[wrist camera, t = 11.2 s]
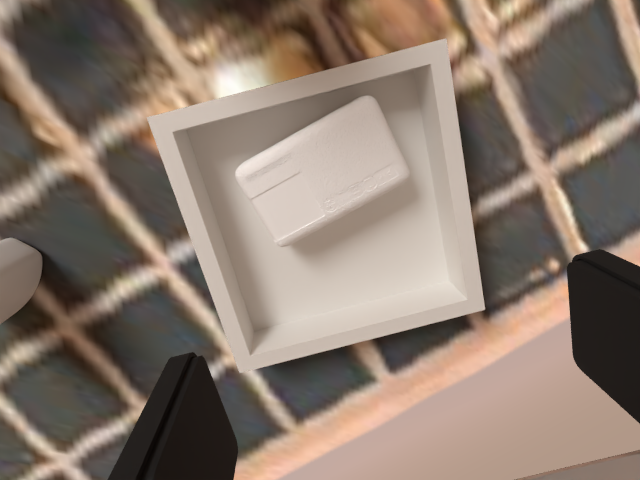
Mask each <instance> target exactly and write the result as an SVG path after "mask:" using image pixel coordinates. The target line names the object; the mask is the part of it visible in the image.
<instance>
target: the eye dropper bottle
mask: <svg viewBox="0 0 640 480" xmlns="http://www.w3.org/2000/svg"><path fill="white" fill-rule="evenodd" d="M41 273H42V256H41V253H40V252H39V251H37V250H36V249H34V248H33V247H31V246H29V245H27V244H25V243H23V242H21V241H19V240H17V239H14V238H7V239H4V240H2V241H0V324H1V323H2V322H4V321H5V320H7V319H8V318H9V317H11V316H12V315H13V314H15V313H16V312H17V311H19V310H20V309H21V308H22V307H23V306H24V305H25V304H26V303H27V302H28V301H29V299H30V298H31V297H32V295H33V294H34V292H35V291H36V289H37V286H38V284H39V281H40V278H41Z"/></svg>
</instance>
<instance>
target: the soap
mask: <svg viewBox="0 0 640 480" xmlns="http://www.w3.org/2000/svg"><path fill="white" fill-rule="evenodd" d="M409 175H410V171H409V168H408V166H407V164H406V161H405V159H404V157H403V155H402V153H401V151H400V149H399V147H398V144H397V142H396V141H395V138H394V136H393V134H392V132H391V130H390V127H389V125H388V123H387V121H386V119H385V117H384V115H383V113H382V111H381V108H380V106H379V104H378V102H377V101H376V99H375V98H373V97H372V96H368V95H366V96H362V97H358V98H356V99H354V100H352V101H351V102H349V103H347V104H345V105H344V106H342V107H340V108H338V109H337V110H335V111H333V112H331V113H329V114H327V115H326V116H324V117H322V118H321V119H319V120H317V121H315V122H314V123H312V124H310V125H308V126H306V127H305V128H303V129H301V130H299V131H298V132H296V133H294V134H292V135H290V136H289V137H287V138H285V139H283V140H282V141H280V142H278V143H276V144H275V145H273V146H271V147H269V148H268V149H266V150H264V151H262V152H260V153H259V154H257V155H255V156H253V157H252V158H250V159H248V160H246V161H245V162H243V163H242V164H241V165H240V166H239V167H238V168H237V170H236V173H235V177H236V180H237V182H238V184H239V185H240V187H241V189H242V190H243V192H244V194H245V195H246V197H247V199H249V200H250V202H251V204H252V205H253V207H254V209H255V210H256V212H257V213H258V215H259V217H260V218H261V220H262V222H263V223H264V225H265V227H266V228H267V230H268V232H269V233H270V235H271V236H272V238H273V241H274V242H275V243H276V245H278V246H280V247H286V246H289V245H291V244H293V243H295V242H296V241H298V240H300V239H302V238H304V237H306V236H308V235H309V234H311V233H313V232H315V231H317V230H319V229H320V228H323V227H324V226H326V225H328V224H330V223H332V222H334V221H336V220H338V219H339V218H341V217H343V216H345V215H347V214H349V213H350V212H352V211H354V210H356V209H358V208H359V207H361V206H363V205H365V204H367V203H368V202H370V201H372V200H374V199H376V198H378V197H380V196H381V195H383V194H385V193H387V192H389V191H391V190H393V189H394V188H396V187H398V186H400V185H402V184H403V183H405V182H406V181H407V180H408V179H409Z"/></svg>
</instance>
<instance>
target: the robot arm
mask: <svg viewBox="0 0 640 480" xmlns="http://www.w3.org/2000/svg"><path fill="white" fill-rule="evenodd" d="M567 276H568V291H569V306H570V320H571V335H572V349H573V357H574V360H575V362H576V364H577V366H578V367H579V368H580V369H581V370H582V371H583V372H584V373H585V374H586V375H587V376H588V377H589V378H590V379H592V380H593V381H594V382H595V383H596V384H597V385H598V386H599V387H600V388H601V389H602V390H604V391H605V392H606V393H607V394H608V395H609V396H610V397H611V398H612V399H613V400H615V401H616V402H617V403H618V404H619V405H620V406H621V407H622V408H623V409H624V410H626V411H627V412H628V413H629V414H630V415H631V416H632V417H633V418H634V419H635V420H637V421H638V422H639V423H640V267H639V266H637V265H635V264H633V263H631V262H628V261H626V260H624V259H622V258H620V257H617V256H615V255H613V254H611V253H609V252H606V251H604V250H601V249H599V250H595V251H591V252H587V253H583V254H579V255H575V256H574V257H573V260H572V262H571V263H569V264H568V266H567ZM237 454H238V446H237V440H236V437H235V435H234V432H233V429H232V427H231V424H230V422H229V419H228V417H227V414H226V412H225V409H224V407H223V404H222V401H221V399H220V396H219V394H218V391H217V389H216V386H215V384H214V381H213V379H212V376H211V373H210V371H209V368H208V366H207V363H206V361H205V359H204V357H203V356H199V357H197V355H196V354H195V353H193V352H191V353H187V354H183V355H179V356H175V357H171V358H170V359H169V360H168V362H167V364H166V366H165V368H164V370H163V372H162V374H161V376H160V378H159V380H158V382H157V384H156V386H155V388H154V389H153V391H152V393H151V395H150V397H149V399H148V401H147V403H146V405H145V407H144V409H143V411H142V413H141V415H140V417H139V419H138V421H137V423H136V425H135V427H134V429H133V431H132V433H131V435H130V437H129V439H128V441H127V443H126V445H125V447H124V449H123V451H122V453H121V455H120V457H119V459H118V461H117V463H116V464H115V466H114V468H113V470H112V472H111V474H110V476H109V478H108V480H233V478H234V473H235V467H236V461H237ZM516 480H640V450H638V451H633V452H629V453H625V454H621V455H617V456H612V457H608V458H604V459H600V460H595V461H591V462H587V463H582V464H578V465H574V466H570V467H565V468H561V469H557V470H553V471H549V472H545V473H541V474H536V475H532V476H528V477H524V478H520V479H516Z"/></svg>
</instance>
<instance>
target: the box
mask: <svg viewBox="0 0 640 480" xmlns="http://www.w3.org/2000/svg"><path fill="white" fill-rule="evenodd" d="M366 95H368V96H372V97H373V98H375V99H376V101H377V102H378V104H379V106H380V108H381V111H382V113H383V115H384V117H385V119H386V121H387V123H388V125H389V127H390V130H391V132H392V134H393V136H394V138H395V141H396V142H397V144H398V147H399V149H400V151H401V153H402V155H403V157H404V159H405V161H406V164H407V166H408V168H409V171H410V175H409V179H408V180H407V181H406V182H405V183H403V184H402V185H400V186H398V187H396V188H394V189H393V190H391V191H389V192H387V193H385V194H383V195H381V196H380V197H378V198H376V199H374V200H372V201H370V202H368V203H367V204H365V205H363V206H361V207H359V208H358V209H356V210H354V211H352V212H350V213H349V214H347V215H345V216H343V217H341V218H339V219H338V220H336V221H334V222H332V223H330V224H328V225H326V226H324V227H323V228H320V229H319V230H317V231H315V232H313V233H311V234H309V235H308V236H306V237H304V238H302V239H300V240H298V241H296V242H295V243H293V244H291V245H289V246H286V247H280V246H278V245H276V243H275V242H274V241H273V238H272V236H271V235H270V233H269V232H268V230H267V228H266V227H265V225H264V223H263V222H262V220H261V218H260V217H259V215H258V213H257V212H256V210H255V209H254V207H253V205H252V204H251V202H250V200H249V199H247V197H246V195H245V194H244V192H243V190H242V189H241V187H240V185H239V184H238V182H237V180H236V177H235V173H236V170H237V168H238V167H239V166H240V165H241V164H242V163H243V162H245V161H246V160H248V159H250V158H252V157H253V156H255V155H257V154H259V153H260V152H262V151H264V150H266V149H268V148H269V147H271V146H273V145H275V144H276V143H278V142H280V141H282V140H283V139H285V138H287V137H289V136H290V135H292V134H294V133H296V132H298V131H299V130H301V129H303V128H305V127H306V126H308V125H310V124H312V123H314V122H315V121H317V120H319V119H321V118H322V117H324V116H326V115H327V114H329V113H331V112H333V111H335V110H337V109H338V108H340V107H342V106H344V105H345V104H347V103H349V102H351V101H352V100H354V99H356V98H358V97H362V96H366ZM147 119H148V122H149V125H150V128H151V130H152V133H153V136H154V139H155V141H156V144H157V147H158V150H159V152H160V155H161V158H162V161H163V163H164V166H165V169H166V172H167V174H168V177H169V180H170V183H171V186H172V188H173V191H174V194H175V197H176V199H177V202H178V205H179V208H180V210H181V213H182V216H183V219H184V221H185V224H186V227H187V230H188V232H189V235H190V238H191V241H192V243H193V246H194V249H195V252H196V254H197V257H198V260H199V263H200V265H201V268H202V271H203V274H204V276H205V279H206V282H207V285H208V287H209V290H210V293H211V296H212V298H213V301H214V304H215V307H216V309H217V312H218V315H219V318H220V320H221V323H222V326H223V329H224V331H225V334H226V337H227V340H228V342H229V345H230V348H231V351H232V353H233V356H234V359H235V362H236V365H237V367H238V370H239V373H242V372H246V371H250V370H254V369H258V368H262V367H265V366H269V365H273V364H277V363H281V362H285V361H289V360H293V359H296V358H300V357H304V356H308V355H312V354H316V353H320V352H324V351H327V350H331V349H335V348H339V347H343V346H347V345H351V344H355V343H358V342H362V341H366V340H370V339H374V338H378V337H382V336H386V335H389V334H393V333H397V332H401V331H405V330H409V329H413V328H417V327H421V326H424V325H428V324H432V323H436V322H440V321H444V320H448V319H452V318H455V317H459V316H463V315H467V314H471V313H475V312H479V311H483V310H485V305H484V298H483V291H482V284H481V277H480V270H479V263H478V256H477V249H476V242H475V235H474V228H473V221H472V214H471V207H470V200H469V193H468V186H467V179H466V172H465V165H464V158H463V151H462V144H461V137H460V130H459V123H458V116H457V109H456V102H455V95H454V88H453V81H452V74H451V67H450V60H449V53H448V46H447V39H442V40H438V41H434V42H431V43H427V44H423V45H419V46H416V47H412V48H408V49H404V50H400V51H397V52H393V53H389V54H385V55H381V56H378V57H374V58H370V59H366V60H363V61H359V62H355V63H351V64H347V65H344V66H340V67H336V68H332V69H328V70H325V71H321V72H317V73H313V74H309V75H306V76H302V77H298V78H294V79H291V80H287V81H283V82H279V83H275V84H272V85H268V86H264V87H260V88H256V89H253V90H249V91H245V92H241V93H238V94H234V95H230V96H226V97H222V98H219V99H215V100H211V101H207V102H203V103H200V104H196V105H192V106H188V107H185V108H181V109H177V110H173V111H169V112H166V113H162V114H158V115H154V116H150V117H147Z"/></svg>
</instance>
